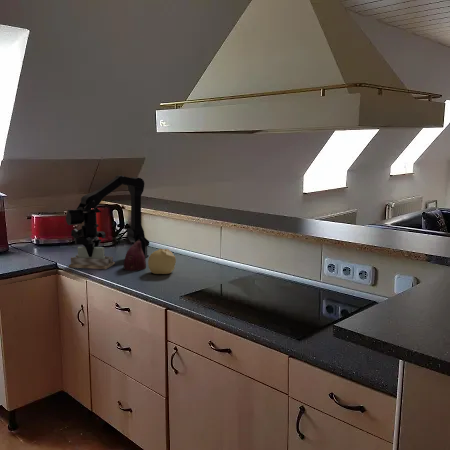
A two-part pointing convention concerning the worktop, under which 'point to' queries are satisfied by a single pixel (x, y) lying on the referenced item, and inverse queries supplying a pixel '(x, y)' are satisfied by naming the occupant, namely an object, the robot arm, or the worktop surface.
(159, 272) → the yellow rounded lump
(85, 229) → the robot arm
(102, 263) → the track
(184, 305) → the worktop surface
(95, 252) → the rectangular block
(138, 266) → the vegetable
